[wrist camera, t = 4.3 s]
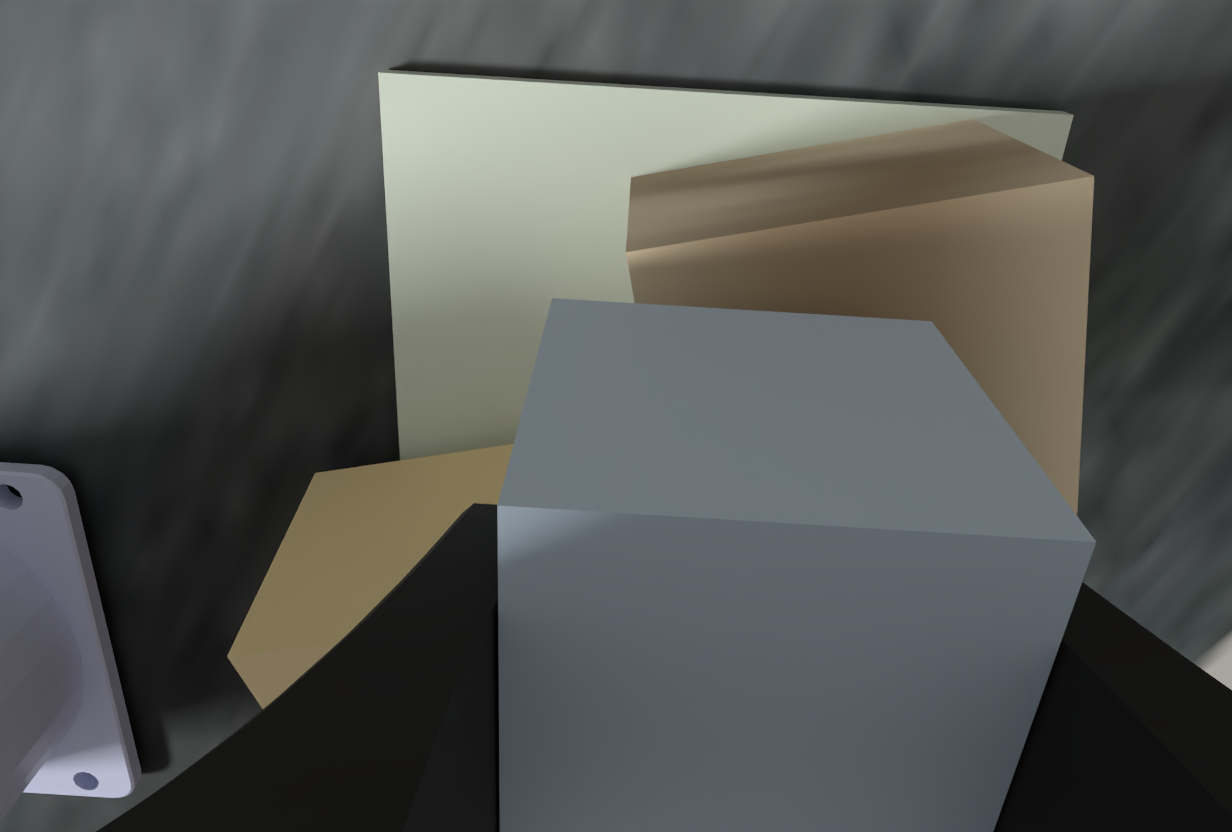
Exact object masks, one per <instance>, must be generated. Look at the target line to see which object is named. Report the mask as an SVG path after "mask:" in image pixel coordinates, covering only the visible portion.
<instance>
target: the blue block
mask: <svg viewBox="0 0 1232 832" xmlns="http://www.w3.org/2000/svg"><path fill="white" fill-rule="evenodd" d="M497 524H498V659H499V795H500V832H993V831H994V828H995V826H996V823H997V820H998V817H999V814H1000V812H1001V809H1002V806H1003V803H1004V800H1005V798H1006V795H1007V792H1008V789H1009V786H1010V783H1011V781H1012V778H1013V775H1014V772H1015V769H1016V767H1017V764H1018V761H1019V758H1020V755H1021V753H1022V750H1023V747H1024V744H1025V741H1026V739H1027V736H1028V733H1029V730H1030V727H1031V725H1032V722H1033V719H1034V716H1035V713H1036V710H1037V708H1038V705H1039V702H1040V699H1041V696H1042V694H1043V691H1044V688H1045V685H1046V682H1047V680H1048V677H1049V674H1050V671H1051V668H1052V666H1053V663H1054V660H1055V657H1056V654H1057V651H1058V649H1059V646H1060V643H1061V640H1062V637H1063V635H1064V632H1065V629H1066V626H1067V623H1068V621H1069V618H1070V615H1071V612H1072V609H1073V607H1074V604H1075V601H1076V598H1077V595H1078V593H1079V590H1080V587H1081V584H1082V581H1083V578H1084V576H1085V573H1086V570H1087V567H1088V564H1089V562H1090V559H1091V556H1092V553H1093V550H1094V548H1095V545H1096V541H1095V539H1094V538H1093V537H1092V535H1091V534H1090V533H1089V531H1088V530H1087V529H1086V527H1085V526H1084V525H1083V523H1082V522H1081V521H1080V519H1079V518H1078V517H1077V515H1076V514H1075V513H1074V511H1073V510H1072V509H1071V507H1070V506H1069V505H1068V503H1067V502H1066V501H1065V499H1064V498H1063V497H1062V495H1061V494H1060V493H1059V491H1058V490H1057V489H1056V487H1055V486H1054V485H1053V483H1052V482H1051V481H1050V479H1049V478H1048V476H1047V475H1046V474H1045V472H1044V471H1043V470H1042V468H1041V467H1040V466H1039V464H1038V463H1037V462H1036V460H1035V459H1034V458H1033V456H1032V455H1031V454H1030V452H1029V451H1028V450H1027V448H1026V447H1025V446H1024V444H1023V443H1022V442H1021V440H1020V439H1019V438H1018V436H1017V435H1016V434H1015V432H1014V431H1013V430H1012V428H1011V427H1010V426H1009V424H1008V423H1007V422H1006V420H1005V419H1004V418H1003V416H1002V415H1001V413H1000V412H999V411H998V409H997V408H996V407H995V405H994V404H993V403H992V401H991V400H990V399H989V397H988V396H987V395H986V393H985V392H984V391H983V389H982V388H981V387H980V385H979V384H978V383H977V381H976V380H975V379H974V377H973V376H972V375H971V373H970V372H969V371H968V369H967V368H966V367H965V365H964V364H963V363H962V361H961V360H960V359H959V357H958V356H957V355H956V353H955V352H954V350H953V349H952V348H951V346H950V345H949V344H948V342H947V341H946V340H945V338H944V337H943V336H942V334H941V333H940V332H939V330H938V329H937V328H936V326H935V325H934V324H933V322H932V321H920V320H904V319H887V318H871V317H854V316H838V315H821V314H805V313H788V312H772V311H755V310H739V309H722V308H706V307H689V306H673V305H656V304H640V303H623V302H607V301H590V300H574V299H557V298H552V300H551V304H550V308H549V312H548V316H547V319H546V323H545V327H544V331H543V335H542V338H541V342H540V346H539V350H538V353H537V357H536V361H535V365H534V369H533V372H532V376H531V380H530V384H529V388H528V391H527V395H526V399H525V403H524V406H523V410H522V414H521V418H520V422H519V425H518V429H517V433H516V437H515V441H514V444H513V448H512V452H511V456H510V460H509V463H508V467H507V471H506V475H505V478H504V482H503V486H502V490H501V494H500V497H499V501H498V505H497Z"/></svg>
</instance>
